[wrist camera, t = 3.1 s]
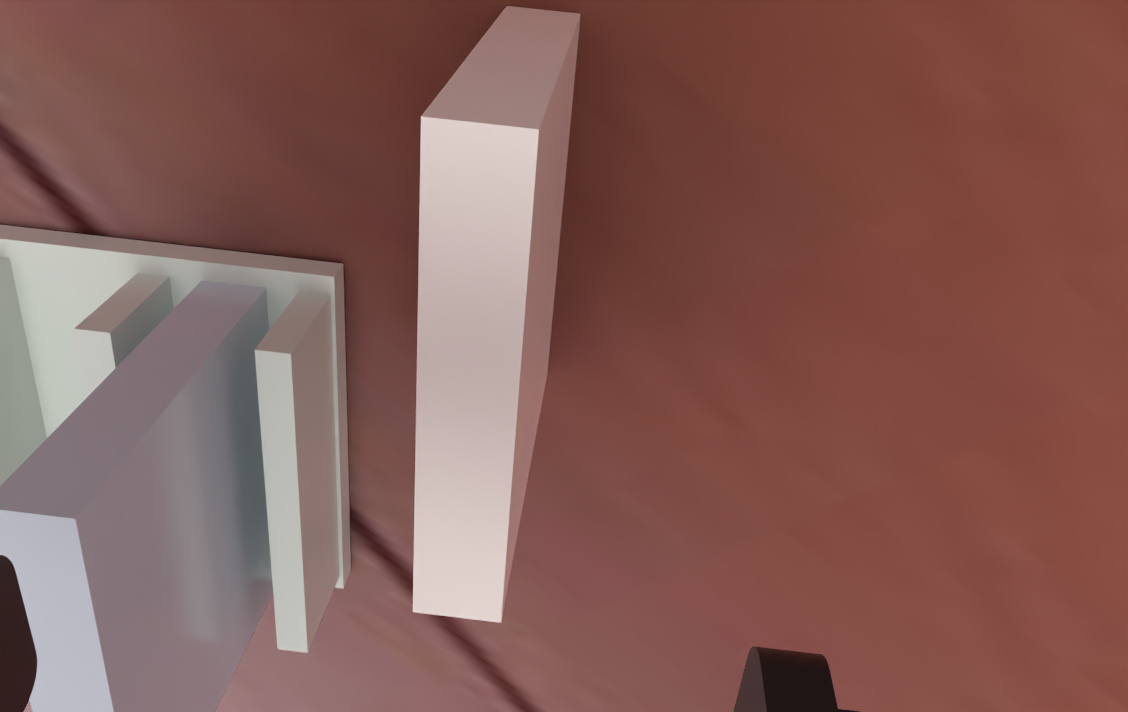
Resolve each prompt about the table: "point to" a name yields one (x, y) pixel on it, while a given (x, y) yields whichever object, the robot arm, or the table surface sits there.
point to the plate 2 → (487, 301)
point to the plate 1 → (150, 520)
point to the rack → (129, 314)
